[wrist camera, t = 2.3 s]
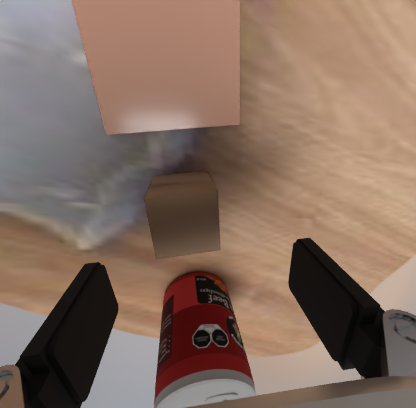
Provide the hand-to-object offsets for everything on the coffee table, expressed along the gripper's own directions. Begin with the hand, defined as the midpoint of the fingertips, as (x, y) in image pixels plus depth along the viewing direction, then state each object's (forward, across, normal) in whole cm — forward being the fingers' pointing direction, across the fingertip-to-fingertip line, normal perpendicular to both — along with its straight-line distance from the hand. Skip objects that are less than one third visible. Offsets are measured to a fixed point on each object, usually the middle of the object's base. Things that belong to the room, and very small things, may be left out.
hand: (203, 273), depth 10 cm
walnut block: (+11, +1, 0) cm, 11 cm away
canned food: (+11, +1, +13) cm, 17 cm away
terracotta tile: (+11, +1, -13) cm, 17 cm away
